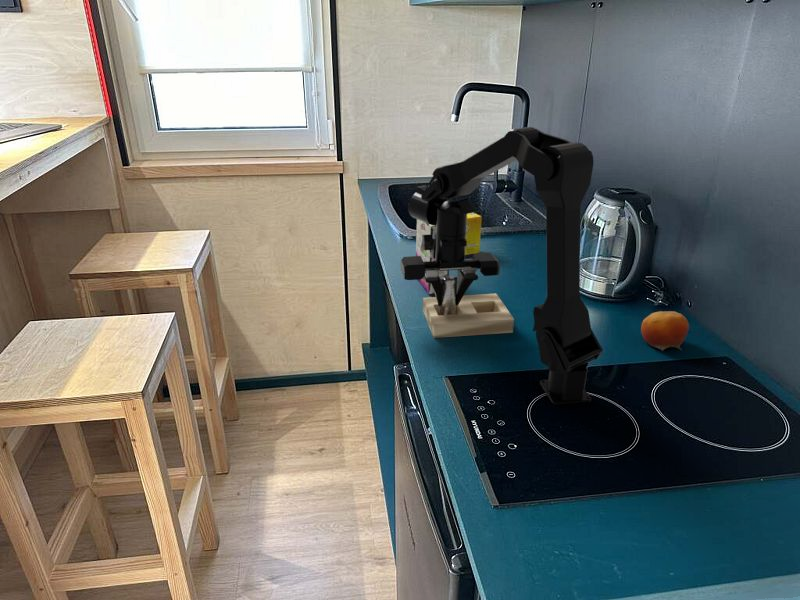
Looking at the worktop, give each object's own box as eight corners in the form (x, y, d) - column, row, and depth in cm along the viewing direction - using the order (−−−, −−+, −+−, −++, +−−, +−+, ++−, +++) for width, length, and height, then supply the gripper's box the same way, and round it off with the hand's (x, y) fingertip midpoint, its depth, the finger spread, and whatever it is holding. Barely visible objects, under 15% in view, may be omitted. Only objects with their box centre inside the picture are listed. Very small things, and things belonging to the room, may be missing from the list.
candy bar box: (449, 293, 128) (452, 224, 121) (428, 295, 127) (430, 226, 120) (434, 274, 138) (436, 209, 131) (414, 276, 137) (415, 211, 130)
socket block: (512, 332, 112) (514, 319, 110) (433, 337, 110) (434, 324, 108) (495, 305, 122) (496, 293, 121) (422, 310, 120) (423, 297, 119)
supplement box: (448, 251, 152) (450, 212, 148) (467, 248, 155) (470, 209, 150) (460, 258, 148) (462, 218, 143) (479, 255, 150) (482, 215, 145)
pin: (457, 316, 113) (458, 280, 110) (441, 317, 113) (442, 281, 110) (453, 309, 116) (455, 274, 113) (438, 310, 116) (439, 275, 112)
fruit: (665, 355, 101) (658, 311, 102) (637, 355, 109) (630, 314, 110) (703, 349, 103) (695, 306, 104) (672, 350, 111) (666, 310, 112)
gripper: (487, 217, 115) (482, 286, 122) (396, 220, 113) (397, 291, 120) (503, 234, 105) (497, 309, 112) (405, 239, 103) (404, 314, 110)
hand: (448, 305), depth 114 cm, fingers closed on pin, 3 cm apart
